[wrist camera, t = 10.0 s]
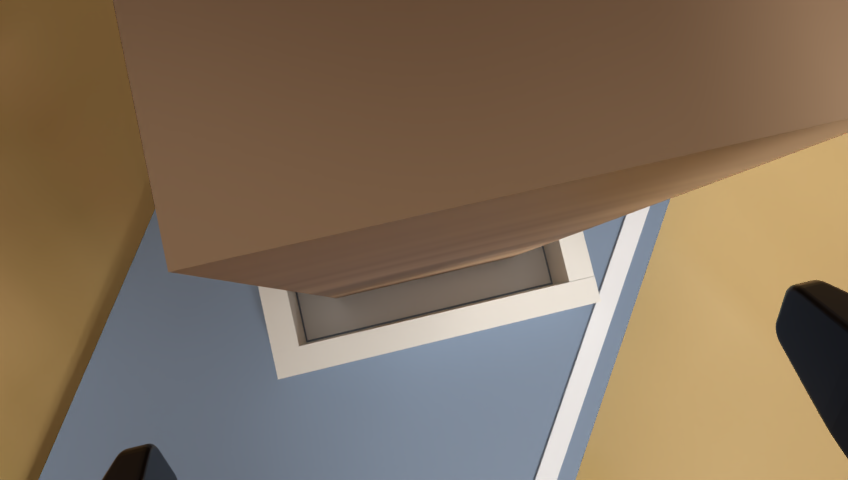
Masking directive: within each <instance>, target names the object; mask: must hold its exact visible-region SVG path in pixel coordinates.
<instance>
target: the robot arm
mask: <svg viewBox="0 0 848 480" xmlns="http://www.w3.org/2000/svg"><path fill="white" fill-rule="evenodd" d="M776 333H777V337H778V340H779V342H780V344H781V345H782V347H783V349H784V351H785V353H786V355H787V356H788V358H789V360H790V362H791V364H792V365H793V367H794V369H795V371H796V373H797V375H798V376H799V378H800V380H801V382H802V384H803V385H804V387H805V389H806V391H807V393H808V394H809V396H810V398H811V400H812V402H813V404H814V405H815V407H816V409H817V411H818V413H819V414H820V416H821V418H822V420H823V421H824V423H825V425H826V426H827V428H828V430H829V432H830V433H831V435H832V436H833V438H834V439H835V441H836V442H837V444H838V445H839V447H840V448H841V450H842V451H843V452H844V454H845V455H846V457H847V458H848V293H847V292H845V291H843V290H841V289H839V288H837V287H834V286H832V285H830V284H828V283H826V282H823V281H819V280H813V281H808V282H804V283H800V284H796V285H792V286H790V287H789V288H788V289H787V291H786V293H785V296H784V299H783V302H782V306H781V309H780V312H779V315H778V318H777V321H776ZM102 480H177V477H176V475H175V473H174V472H173V470H172V469H171V467H170V466H169V464H168V462H167V461H166V459H165V458H164V456H163V455H162V453H161V452H160V450H159V449H158V448H157V447H156V446H155V445H154V444H151V443H149V444H144V445H140V446H136V447H132V448H127V449H125V450H123V451H121V452H120V453H119V454H118V455H117V457H116V458H115V459H114V461H113V463H112V464H111V466H110V467H109V469H108V471H107V472H106V474H105V475H104V477H103V478H102Z"/></svg>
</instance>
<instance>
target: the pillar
mask: <svg viewBox="0 0 848 480" xmlns="http://www.w3.org/2000/svg"><path fill="white" fill-rule="evenodd" d="M113 3H114V8H115V13H116V18H117V23H118V28H119V33H120V38H121V43H122V48H123V52H124V57H125V62H126V67H127V72H128V77H129V82H130V87H131V92H132V97H133V102H134V107H135V111H136V116H137V121H138V126H139V131H140V136H141V141H142V146H143V151H144V156H145V161H146V166H147V170H148V175H149V180H150V185H151V190H152V195H153V200H154V205H155V210H156V215H157V220H158V225H159V229H160V234H161V239H162V244H163V249H164V254H165V259H166V264H167V269H168V272H171V273H178V274H184V275H190V276H197V277H203V278H210V279H216V280H223V281H229V282H235V283H242V284H248V285H255V286H261V287H267V288H274V289H280V290H287V291H293V292H299V293H306V294H312V295H319V296H325V297H331V298H339V297H344V296H348V295H352V294H357V293H361V292H365V291H369V290H374V289H378V288H382V287H387V286H391V285H395V284H399V283H404V282H408V281H412V280H417V279H421V278H425V277H429V276H434V275H438V274H442V273H446V272H451V271H455V270H459V269H464V268H468V267H472V266H476V265H481V264H485V263H489V262H494V261H498V260H502V259H506V258H511V257H514V256H517V255H519V254H522V253H525V252H527V251H530V250H533V249H535V248H538V247H541V246H544V245H546V244H549V243H552V242H554V241H557V240H560V239H562V238H565V237H568V236H571V235H573V234H576V233H579V232H581V231H584V230H587V229H589V228H592V227H595V226H598V225H600V224H603V223H606V222H608V221H611V220H614V219H616V218H619V217H622V216H625V215H627V214H630V213H633V212H635V211H638V210H641V209H643V208H646V207H649V206H652V205H654V204H657V203H660V202H662V201H665V200H668V199H670V198H673V197H676V196H679V195H681V194H684V193H687V192H689V191H692V190H695V189H697V188H700V187H703V186H706V185H708V184H711V183H714V182H716V181H719V180H722V179H724V178H727V177H730V176H733V175H735V174H738V173H741V172H743V171H746V170H749V169H751V168H754V167H757V166H760V165H762V164H765V163H768V162H770V161H773V160H776V159H778V158H781V157H784V156H787V155H789V154H792V153H795V152H797V151H800V150H803V149H805V148H808V147H811V146H814V145H816V144H819V143H822V142H824V141H827V140H830V139H832V138H835V137H838V136H840V135H843V134H846V133H848V0H113Z"/></svg>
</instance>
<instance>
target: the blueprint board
mask: <svg viewBox="0 0 848 480" xmlns="http://www.w3.org/2000/svg"><path fill="white" fill-rule="evenodd" d="M669 200H670V199H668V200H665V201H662V202H660V203H657V204H654V205H652V206H649V207H646V208H643V209H641V210H638V211H635V212H633V213H630V214H627V215H625V216H622V217H619V218H616V219H614V220H611V221H608V222H606V223H603V224H600V225H598V226H595V227H592V228H589V229H587V230H584V231H581V232H579V233H576V234H573V235H571V236H568V237H565V238H562V239H560V240H557V241H554V242H552V243H549V244H546V245H544V246H541V247H538V248H535V249H533V250H530V251H527V252H525V253H522V254H519V255H517V256H514V257H511V258H506V259H502V260H498V261H494V262H489V263H485V264H481V265H476V266H472V267H468V268H464V269H459V270H455V271H451V272H446V273H442V274H438V275H434V276H429V277H425V278H421V279H417V280H412V281H408V282H404V283H399V284H395V285H391V286H387V287H382V288H378V289H374V290H369V291H365V292H361V293H357V294H352V295H348V296H344V297H339V298H331V297H325V296H319V295H312V294H306V293H299V292H293V291H287V290H280V289H274V288H267V287H261V286H255V285H248V284H242V283H235V282H229V281H223V280H216V279H210V278H203V277H197V276H190V275H184V274H178V273H171V272H168V269H167V264H166V259H165V254H164V249H163V244H162V239H161V234H160V229H159V225H158V220H157V215H156V210H155V211H154V213H153V215H152V218H151V220H150V222H149V225H148V227H147V229H146V232H145V234H144V236H143V239H142V241H141V243H140V246H139V248H138V250H137V252H136V255H135V257H134V259H133V262H132V264H131V266H130V269H129V271H128V273H127V276H126V278H125V280H124V283H123V285H122V287H121V290H120V292H119V294H118V297H117V299H116V301H115V304H114V306H113V308H112V310H111V313H110V315H109V317H108V320H107V322H106V324H105V327H104V329H103V331H102V334H101V336H100V338H99V341H98V343H97V345H96V348H95V350H94V352H93V355H92V357H91V359H90V361H89V364H88V366H87V368H86V371H85V373H84V375H83V378H82V380H81V382H80V385H79V387H78V389H77V392H76V394H75V396H74V399H73V401H72V403H71V406H70V408H69V410H68V413H67V415H66V417H65V419H64V422H63V424H62V426H61V429H60V431H59V433H58V436H57V438H56V440H55V443H54V445H53V447H52V450H51V452H50V454H49V457H48V459H47V461H46V464H45V466H44V468H43V470H42V473H41V475H40V477H39V480H102V478H103V477H104V475H105V474H106V472H107V471H108V469H109V467H110V466H111V464H112V463H113V461H114V459H115V458H116V457H117V455H118V454H119V453H120V452H121V451H123V450H125V449H127V448H132V447H136V446H140V445H144V444H149V443H151V444H154V445H155V446H156V447H157V448H158V449H159V450H160V452H161V453H162V455H163V456H164V458H165V459H166V461H167V462H168V464H169V466H170V467H171V469H172V470H173V472H174V473H175V475H176V477H177V480H575V479H576V476H577V473H578V470H579V467H580V464H581V461H582V458H583V455H584V452H585V449H586V447H587V444H588V441H589V438H590V435H591V432H592V429H593V426H594V423H595V420H596V417H597V414H598V411H599V408H600V405H601V402H602V399H603V396H604V393H605V390H606V387H607V384H608V381H609V378H610V375H611V372H612V369H613V366H614V364H615V361H616V358H617V355H618V352H619V349H620V346H621V343H622V340H623V337H624V334H625V331H626V328H627V325H628V322H629V319H630V316H631V313H632V310H633V307H634V304H635V301H636V298H637V295H638V292H639V289H640V286H641V283H642V281H643V278H644V275H645V272H646V269H647V266H648V263H649V260H650V257H651V254H652V251H653V248H654V245H655V242H656V239H657V236H658V233H659V230H660V227H661V224H662V221H663V218H664V215H665V212H666V209H667V206H668V203H669Z"/></svg>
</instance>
